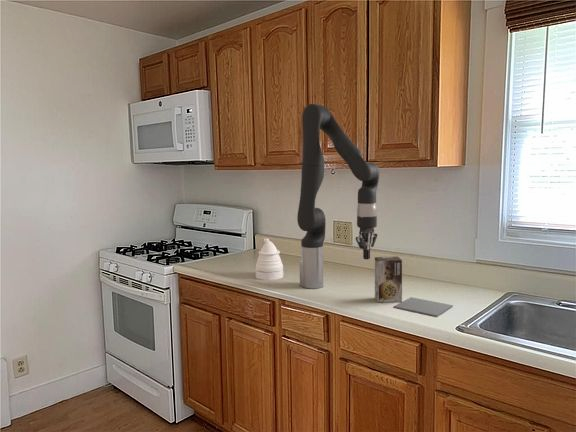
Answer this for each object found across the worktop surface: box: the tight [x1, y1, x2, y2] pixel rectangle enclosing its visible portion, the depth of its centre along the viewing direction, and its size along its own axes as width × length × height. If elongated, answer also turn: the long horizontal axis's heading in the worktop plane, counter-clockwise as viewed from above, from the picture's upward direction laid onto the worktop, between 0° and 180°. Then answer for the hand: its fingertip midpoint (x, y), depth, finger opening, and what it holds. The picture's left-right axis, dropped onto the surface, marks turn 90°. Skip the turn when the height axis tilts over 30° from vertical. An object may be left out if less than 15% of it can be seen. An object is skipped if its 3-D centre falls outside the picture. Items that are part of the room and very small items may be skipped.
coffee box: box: [374, 255, 403, 303], centre depth 167 cm, size 9×6×16 cm
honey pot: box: [255, 237, 284, 281], centre depth 205 cm, size 13×13×18 cm
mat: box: [393, 296, 454, 318], centre depth 159 cm, size 16×14×1 cm
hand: (366, 259), depth 172 cm, fingers closed
